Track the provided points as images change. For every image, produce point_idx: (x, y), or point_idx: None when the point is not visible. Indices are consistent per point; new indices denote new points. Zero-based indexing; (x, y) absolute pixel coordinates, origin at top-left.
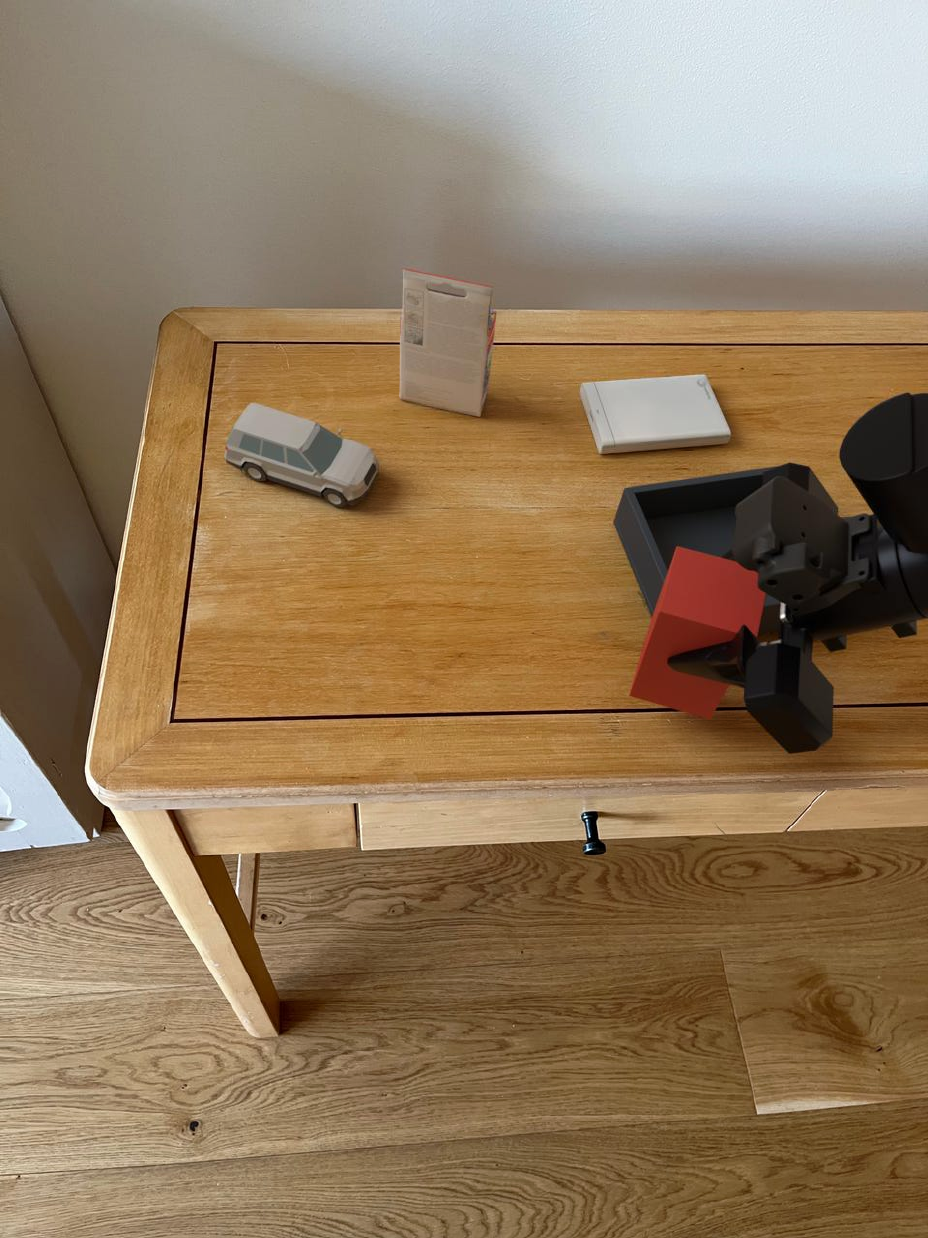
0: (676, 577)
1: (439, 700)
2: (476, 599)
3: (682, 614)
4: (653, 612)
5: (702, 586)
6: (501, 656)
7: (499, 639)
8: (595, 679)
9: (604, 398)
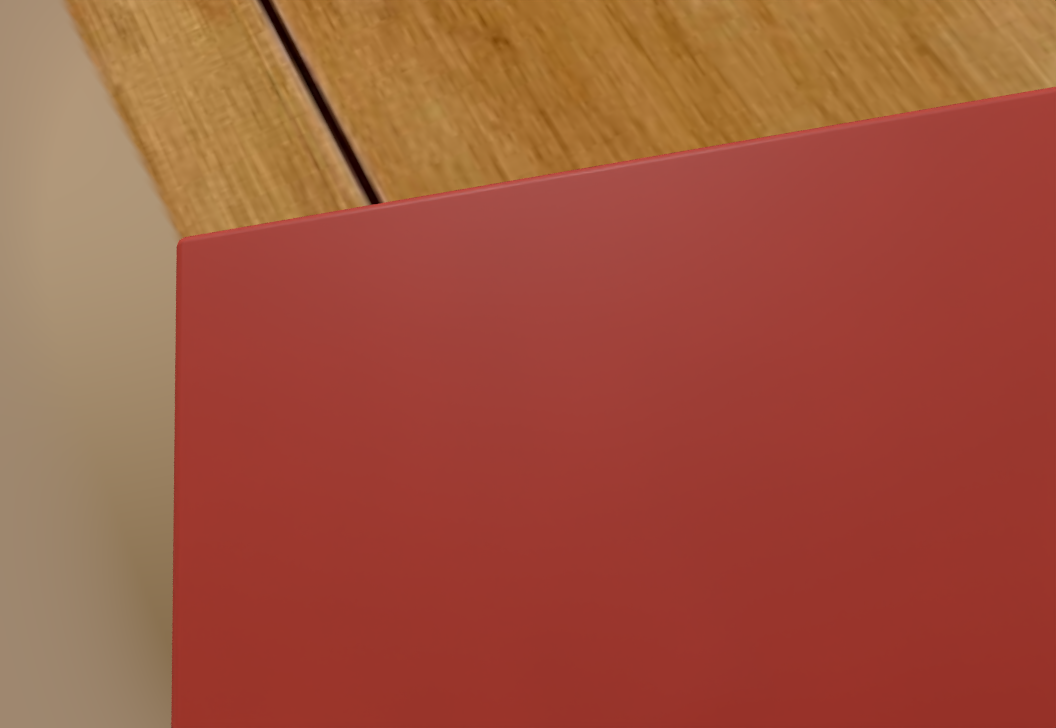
0: (797, 231)
1: (342, 52)
2: (692, 3)
3: (220, 544)
4: None
5: (865, 679)
6: (550, 135)
7: (601, 108)
8: None
9: None
